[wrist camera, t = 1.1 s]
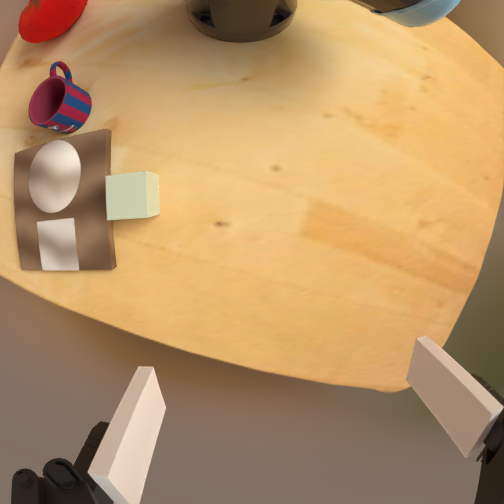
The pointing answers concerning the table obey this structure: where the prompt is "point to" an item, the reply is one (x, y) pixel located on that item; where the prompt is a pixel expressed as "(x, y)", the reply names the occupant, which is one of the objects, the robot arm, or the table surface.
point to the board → (64, 204)
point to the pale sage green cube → (132, 195)
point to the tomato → (48, 18)
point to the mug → (59, 102)
